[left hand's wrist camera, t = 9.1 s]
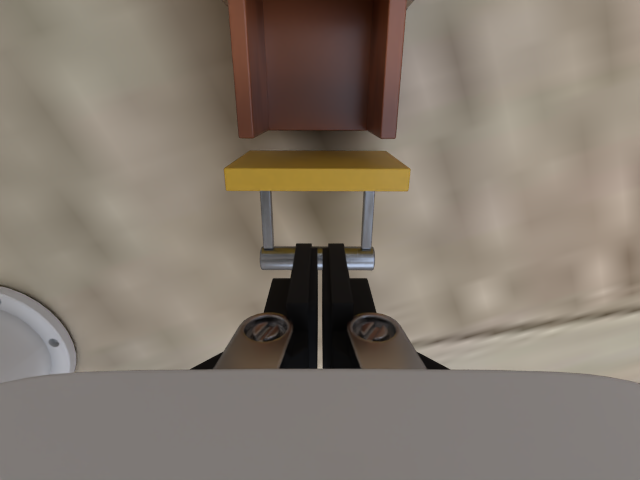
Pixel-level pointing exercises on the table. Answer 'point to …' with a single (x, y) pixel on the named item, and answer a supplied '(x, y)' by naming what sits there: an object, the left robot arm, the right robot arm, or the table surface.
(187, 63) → the table surface
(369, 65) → the drawer
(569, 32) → the table surface
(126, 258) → the table surface
